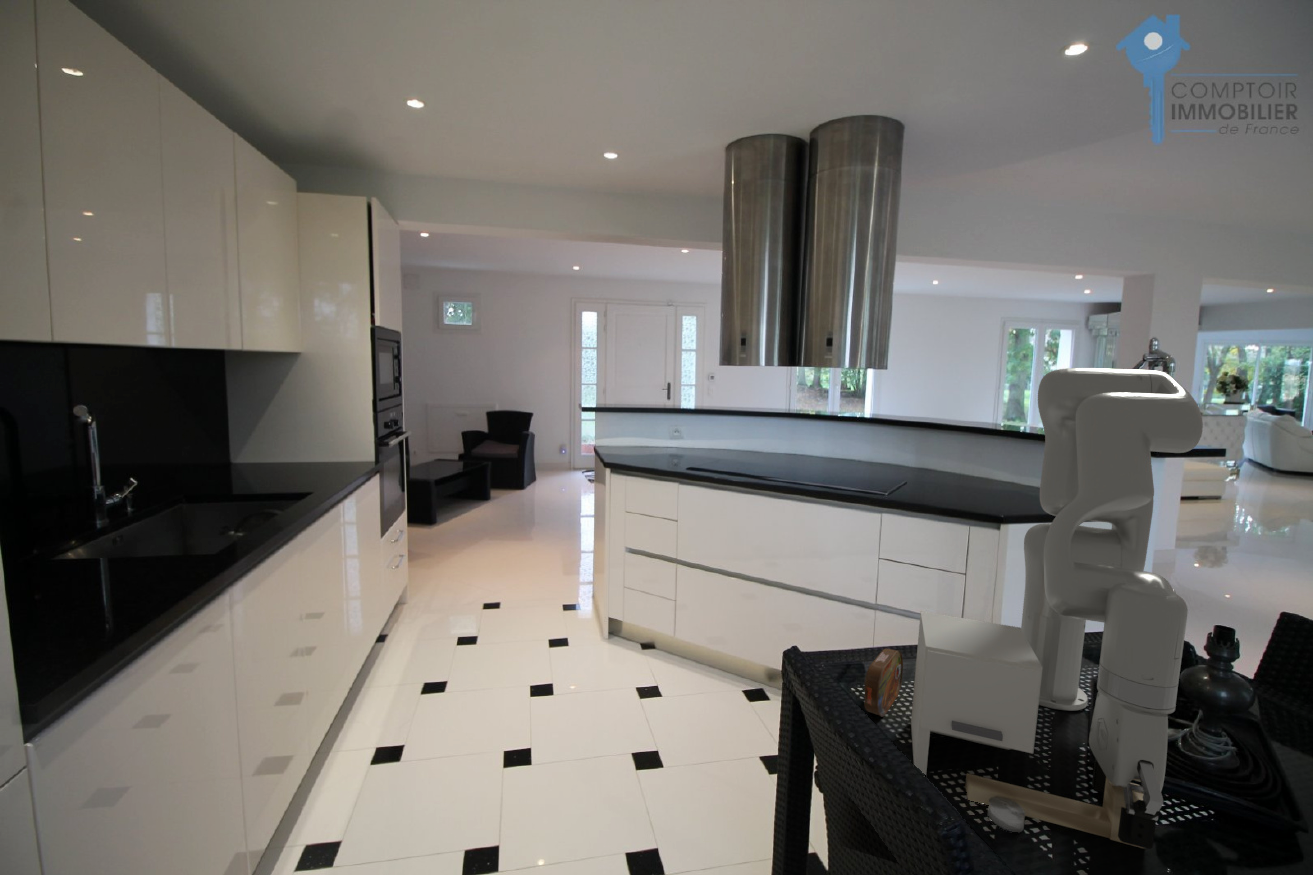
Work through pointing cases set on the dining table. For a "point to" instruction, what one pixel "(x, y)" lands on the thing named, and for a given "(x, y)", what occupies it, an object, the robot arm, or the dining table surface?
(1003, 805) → the puck
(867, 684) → the tin
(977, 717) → the cabinet
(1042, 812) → the wooden l-shaped bar
